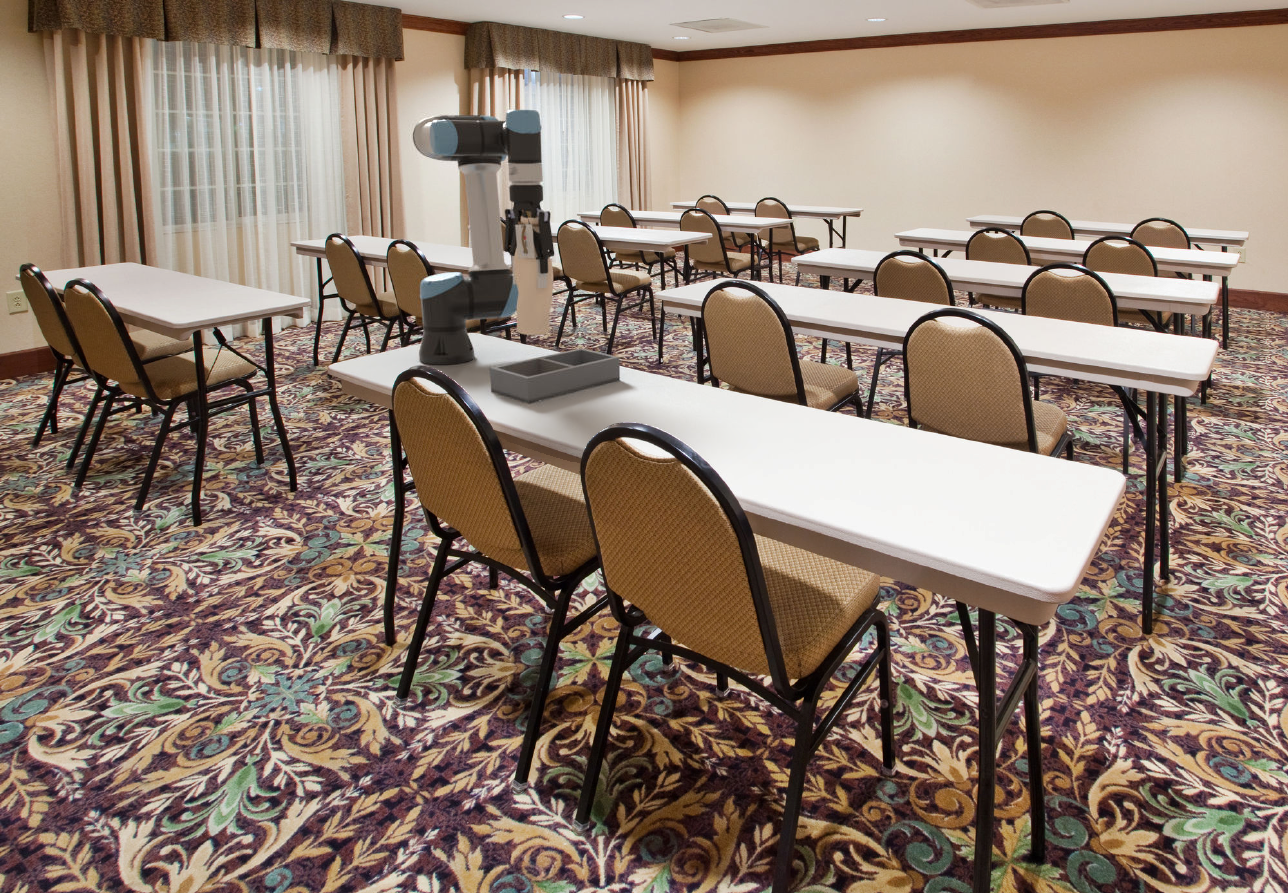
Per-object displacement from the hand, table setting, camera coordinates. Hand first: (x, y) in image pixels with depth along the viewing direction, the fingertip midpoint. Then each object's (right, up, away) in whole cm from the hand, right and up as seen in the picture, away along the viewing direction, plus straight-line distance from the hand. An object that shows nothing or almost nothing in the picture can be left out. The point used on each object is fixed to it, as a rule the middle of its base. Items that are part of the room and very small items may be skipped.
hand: (530, 285), depth 198 cm
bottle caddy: (+5, -23, +13) cm, 27 cm away
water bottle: (0, -11, +4) cm, 11 cm away
